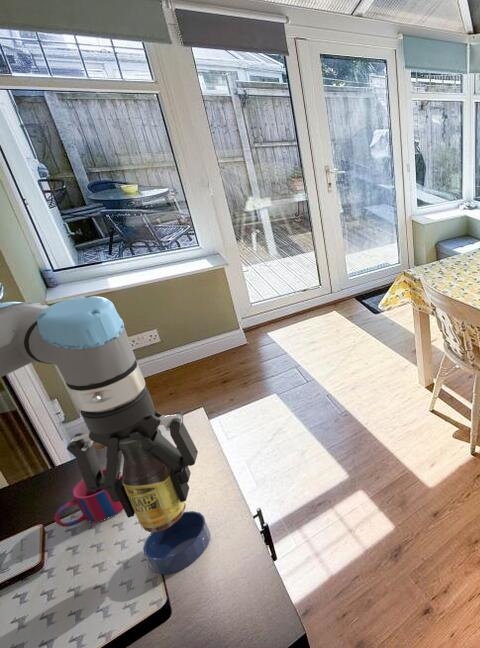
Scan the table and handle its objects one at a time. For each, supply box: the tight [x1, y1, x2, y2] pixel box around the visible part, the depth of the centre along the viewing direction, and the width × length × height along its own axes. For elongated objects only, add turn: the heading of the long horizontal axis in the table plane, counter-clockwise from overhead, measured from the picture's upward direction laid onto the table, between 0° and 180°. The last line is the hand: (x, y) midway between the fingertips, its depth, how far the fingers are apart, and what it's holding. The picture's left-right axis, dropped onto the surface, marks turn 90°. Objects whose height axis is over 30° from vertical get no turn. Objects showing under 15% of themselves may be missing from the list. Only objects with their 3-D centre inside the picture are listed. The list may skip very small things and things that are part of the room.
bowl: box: [142, 510, 211, 575], centre depth 75 cm, size 9×9×4 cm
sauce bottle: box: [118, 438, 187, 533], centre depth 68 cm, size 7×6×20 cm
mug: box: [53, 468, 124, 528], centre depth 79 cm, size 7×10×7 cm
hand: (159, 502), depth 70 cm, fingers closed on sauce bottle, 6 cm apart
